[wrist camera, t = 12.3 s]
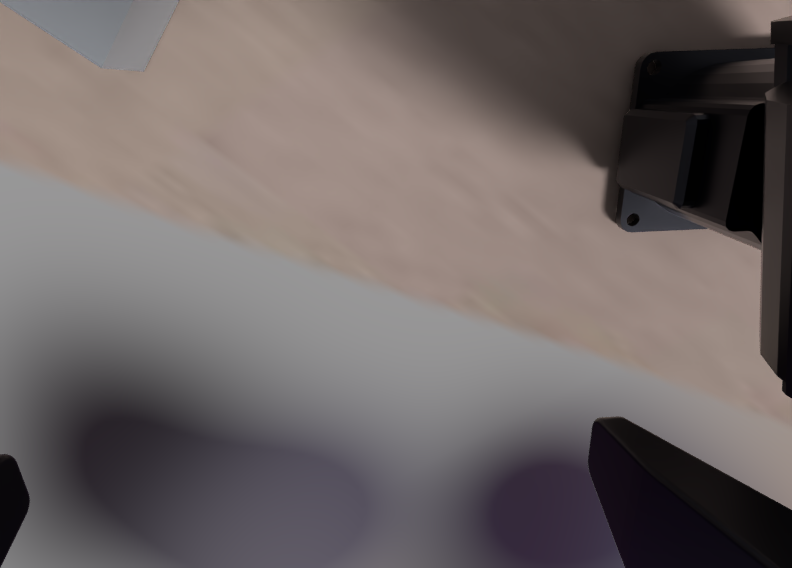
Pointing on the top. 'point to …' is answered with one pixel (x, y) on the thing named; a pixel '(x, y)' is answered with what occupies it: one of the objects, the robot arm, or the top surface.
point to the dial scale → (102, 27)
